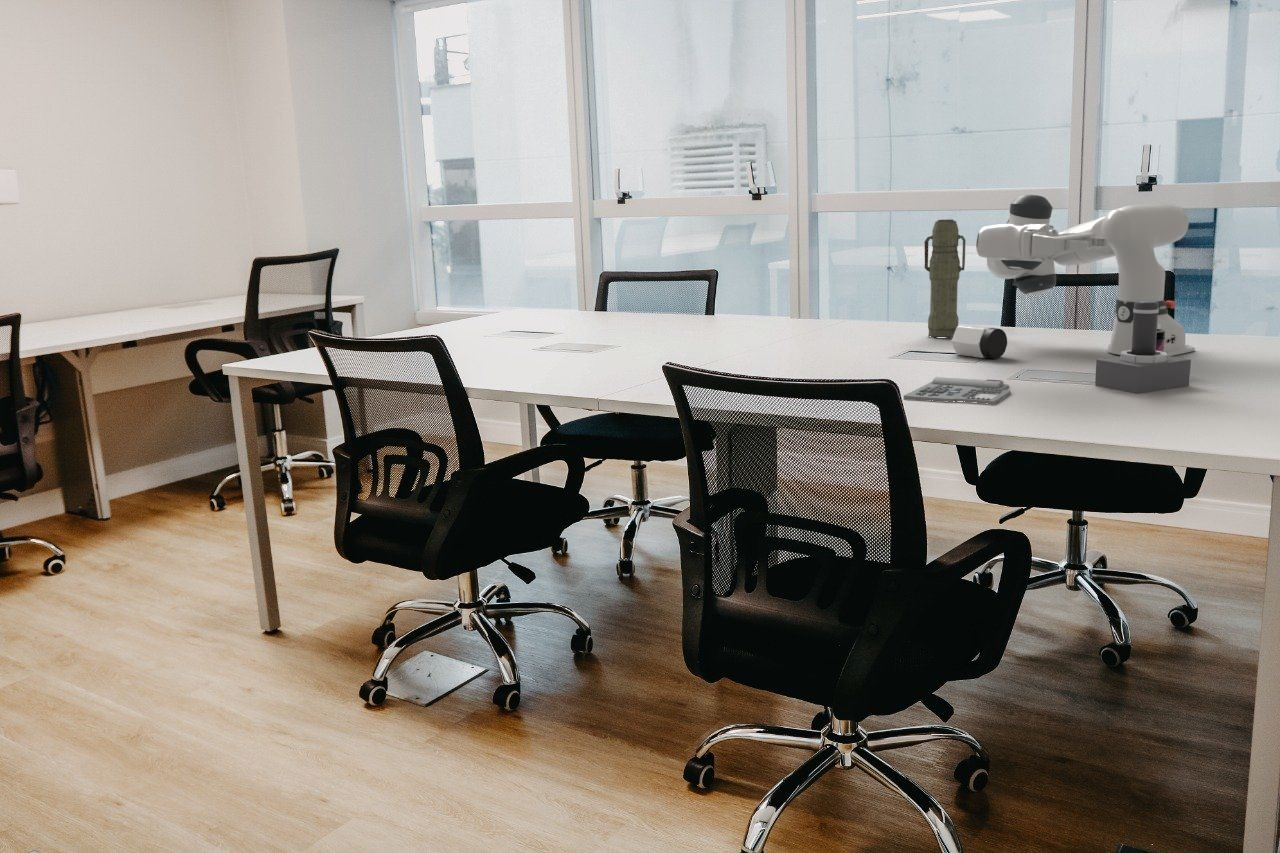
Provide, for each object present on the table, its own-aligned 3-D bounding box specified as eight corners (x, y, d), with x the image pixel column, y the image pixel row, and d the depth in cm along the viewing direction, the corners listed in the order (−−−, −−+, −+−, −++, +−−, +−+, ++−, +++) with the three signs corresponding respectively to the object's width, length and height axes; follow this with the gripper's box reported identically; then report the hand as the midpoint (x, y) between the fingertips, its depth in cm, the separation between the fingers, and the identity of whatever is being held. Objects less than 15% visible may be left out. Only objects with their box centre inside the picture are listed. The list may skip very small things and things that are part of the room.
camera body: (1145, 377, 260) (1147, 346, 258) (1188, 385, 249) (1191, 352, 247) (1095, 385, 254) (1096, 353, 252) (1137, 393, 243) (1139, 360, 241)
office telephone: (935, 373, 265) (1020, 378, 255) (935, 384, 266) (1019, 389, 255) (903, 389, 246) (993, 395, 235) (903, 401, 247) (993, 407, 236)
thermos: (922, 334, 340) (925, 219, 332) (962, 334, 337) (965, 218, 329) (922, 338, 332) (924, 221, 324) (963, 338, 329) (966, 220, 321)
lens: (1142, 356, 253) (1145, 300, 250) (1160, 359, 249) (1164, 301, 246) (1125, 359, 251) (1128, 301, 248) (1143, 362, 247) (1147, 303, 244)
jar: (950, 356, 300) (985, 361, 290) (951, 326, 298) (986, 330, 288) (972, 352, 304) (1008, 357, 294) (973, 323, 302) (1009, 327, 293)
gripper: (1059, 252, 270) (1115, 254, 260) (1019, 259, 256) (1077, 260, 247) (1060, 226, 269) (1117, 227, 259) (1020, 231, 255) (1078, 232, 245)
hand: (1097, 243), depth 253 cm, fingers open, 8 cm apart
